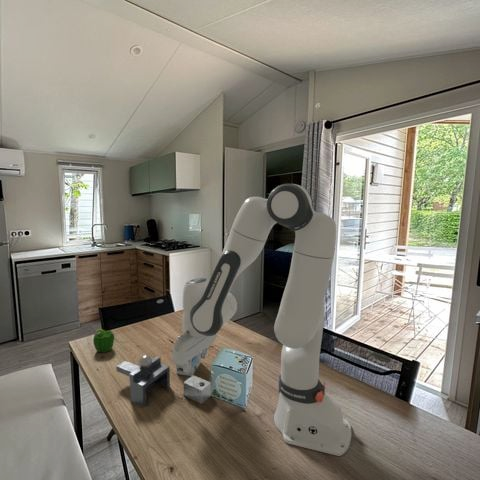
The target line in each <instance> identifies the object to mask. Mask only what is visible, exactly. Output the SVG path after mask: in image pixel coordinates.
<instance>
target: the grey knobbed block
mask: <svg viewBox="0 0 480 480" xmlns="http://www.w3.org/2000/svg"><path fill="white" fill-rule="evenodd" d="M183 396H184V397H187V398H189V399H191V400H192V401H195V402H196V403H199V404H200V405H202V404H203V403H206V401H207V400H208V399H210V397H211V396H212V382H211V381H208V380H206V379H203V378H202V377H198V376H196V375H194V374H193V375H192V376H190V377H188V378H187V379H186V380H185V381H183Z"/></svg>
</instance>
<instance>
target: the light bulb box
mask: <svg viewBox="0 0 480 480" xmlns="http://www.w3.org/2000/svg"><path fill="white" fill-rule="evenodd" d="M201 353H202V351H201V352H200V353H198V354H197V355H196V356H194V357H193V358H192V359H191V360H189V363H188V365H189V366H191V368H190V371H189V372H188V373H186V372H184V371H183V366H179V365H176V364H175V365H176V367H175V369H176V374H177V375H183V376H190V377H191V376H193V375H194V374H195V373H196V371H197V369H198V368H199V366H200V364H201V363H202V358H201Z"/></svg>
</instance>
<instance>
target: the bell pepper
mask: <svg viewBox="0 0 480 480" xmlns="http://www.w3.org/2000/svg"><path fill="white" fill-rule="evenodd" d="M96 332H97V333H95V334H94V335H93V341H92V342H93V346H94V349H95V350H96V351H97V352H98V353H102V352H103V353H107V352H110V351H112V349H113V346H114V343H115V335H114V333H113V331H112V330H111V329H110V330H104V329H101V328H100V329H99V328H98V329H97V330H96Z"/></svg>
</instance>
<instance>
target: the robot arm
mask: <svg viewBox="0 0 480 480" xmlns="http://www.w3.org/2000/svg"><path fill="white" fill-rule="evenodd" d="M313 204H314V202H313V198H312V196H311V194H310V192H309V191H308V190H307V189H306V188H304V187H303V186H301V185H299V184H297V183H296V184H295V183H283V184H280V185H277V186H276V187H275V188H273V189H272V190H271V191H270V193H269V195H268V197H267V198H264V197H261V196H250V197H248V198H246V199H245V201H244V202H243V203H242V205H241V206H240V208H239V210H238V212H237V214H236V216H235V218H234V220H233V223H232V226H231V228H230V231H229V233H228V236H227V239H226V242H225V244H224V248H223V250H222V252H221V254H220V257H219V259H218V262H217V264H216V266H215V268H214V270H213V272H212V274H211V277H210V280H209V279H207V278H203V277H198V278H194V279H190V280H189V281H187V282H186V283H185V284H184V287H183V292H182V308H183V314H182V334H180V335H179V336H177V339H176V340H175V341H174V344H173V348H172V349H173V350H172V358H171V361H172V363H173V364H174V365H179V366H183V371H184V372H186V373H188V372H189V371H190V368H191V366H189V365H188V363H189V360H191V359H192V358H193V357H194V356H196V355H197V354H198V353H200V352H201V359H202V360H205V359H206V358H207V357H208V351H209V350H210V345H212V344H213V343H214V342H215V341H216V338H217V334H218V333H219V331H220V330H221V329H222V327H223V326H224V325H226V324H227V323H228V321H230V319H231V318H232V317H233V316H234V315H235V314H236V313H237V311H238V305H239V304H238V301H237V298H236V297H235V295H234V294H233V293H232V292H230V291H231V289H232V287H233V284H234V282H235V281H236V280H237V278H238V277H239V276H240V274H241V273H242V272H243V271H244V270H245V269H247V268H248V267H249V266H250V265H251V264H252V263H254V262H255V261H256V259H257V258H258V257H259V255H260V254H261V253H262V251H263V249H264V247H265V245H266V242H267V240H268V236H269V234H270V232H271V230H272V228H273V227H274V225H276V224H279V225H280V226H283V227H285V228H287V229H288V230H291V231H293V232H294V233H295V236H294V237H295V238H294V245H293V250H292V255H291V256H292V257H291V262H290V267H289V273H288V277H287V281H286V285H285V288H284V291H283V294H282V297H281V301H280V305H279V308H278V313H277V316H276V318H275V320H274V321H275V322H274V326H273V330H274V331H273V332H274V335H275V338H276V339H277V340H278V342H279V343H281V345H282V348H281V354H280V355H281V357H280V374H279V377H278V393H279V396H278V400H277V401H278V402H277V406H276V409H275V413H274V415H273V422H274V425H275V426H276V428H277V429H278V431H280V434H282V437H283V441H284V442H285V443H286V444H289V445H292V446H297V447H301V448H306V449H309V450H312V451H316V452H321V453H325V454H329V455H333V456H336V457H337V456H338V457H341V456H342V455H345V453H346V452H348V450H349V448H350V445H351V441H352V427H351V424H350V422H349V421H348V419H347V418H344V415H343V411H342V408H341V406H340V405H339V404H338V403H337V402H335V401H334V399H332V398H331V397H330V396H329V395H328V394H327V393H326V392H325V391H326V381H323V383H322V382H321V381H320V379H319V373H320V371H319V370H320V369H319V368H320V355H321V354H320V353H321V349H322V347H321V346H322V339H323V332H324V331H323V330H324V323H325V322H324V321H325V313H326V311H325V303H324V302H325V297H326V294H327V293H326V292H327V289H328V287H329V282H330V277H331V273H332V267H333V261H334V256H335V251H336V246H337V245H336V242H337V224H336V221H335V219H333V218H332V217H331V216H330V215H328V214H325V213H323V212H317V211H315V210H314V208H313V207H314V205H313Z"/></svg>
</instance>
